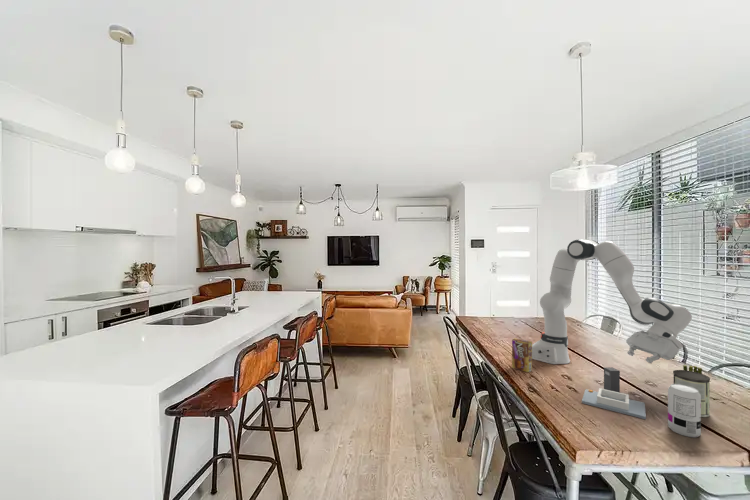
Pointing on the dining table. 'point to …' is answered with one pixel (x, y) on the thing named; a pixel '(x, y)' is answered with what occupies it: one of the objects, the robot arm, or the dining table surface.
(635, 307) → the robot arm
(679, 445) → the dining table surface
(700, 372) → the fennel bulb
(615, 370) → the plug
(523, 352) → the candy box
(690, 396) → the supplement can
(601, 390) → the socket base
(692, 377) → the coffee can
